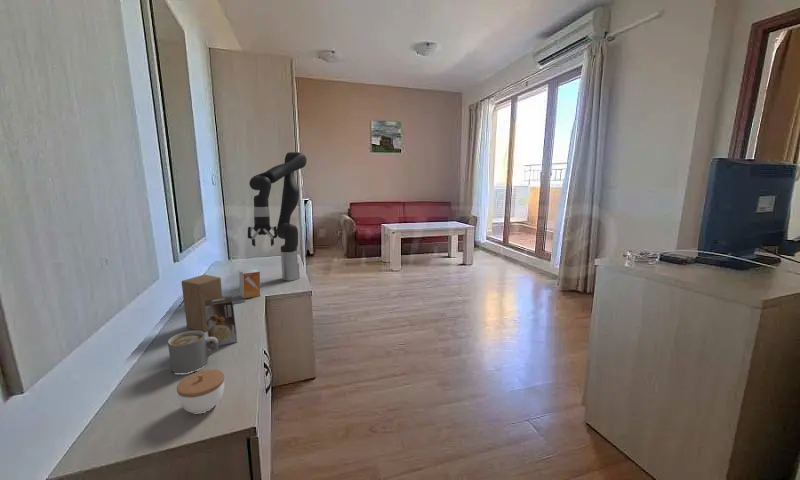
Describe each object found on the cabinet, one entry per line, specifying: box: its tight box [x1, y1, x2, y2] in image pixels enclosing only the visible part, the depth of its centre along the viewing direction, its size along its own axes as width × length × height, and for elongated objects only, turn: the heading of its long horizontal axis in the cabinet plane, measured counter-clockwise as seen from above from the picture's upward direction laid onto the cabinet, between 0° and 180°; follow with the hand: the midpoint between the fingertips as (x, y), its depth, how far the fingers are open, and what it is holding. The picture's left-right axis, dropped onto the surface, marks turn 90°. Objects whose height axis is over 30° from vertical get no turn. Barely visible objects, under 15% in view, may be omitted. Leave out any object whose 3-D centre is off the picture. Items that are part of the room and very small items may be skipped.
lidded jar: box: [176, 368, 225, 414], centre depth 87 cm, size 11×11×9 cm
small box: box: [238, 268, 261, 300], centre depth 167 cm, size 8×6×13 cm
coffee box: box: [205, 297, 238, 348], centre depth 121 cm, size 9×6×16 cm
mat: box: [222, 292, 246, 305], centre depth 161 cm, size 18×14×1 cm
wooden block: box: [181, 274, 223, 333], centre depth 133 cm, size 10×10×20 cm
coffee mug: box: [167, 330, 220, 373], centre depth 106 cm, size 13×10×10 cm
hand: (263, 246), depth 173 cm, fingers open, 8 cm apart
